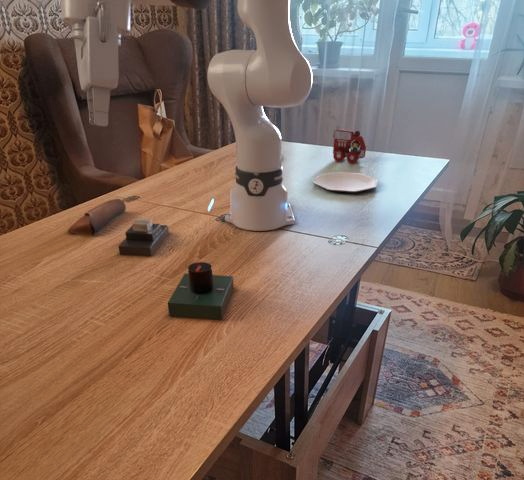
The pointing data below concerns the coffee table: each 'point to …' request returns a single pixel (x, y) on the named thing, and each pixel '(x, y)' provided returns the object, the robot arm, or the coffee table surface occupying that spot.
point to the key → (142, 225)
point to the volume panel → (201, 299)
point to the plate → (345, 182)
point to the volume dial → (200, 277)
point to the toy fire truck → (348, 146)
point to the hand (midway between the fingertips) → (98, 125)
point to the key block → (143, 241)
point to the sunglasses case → (97, 218)
